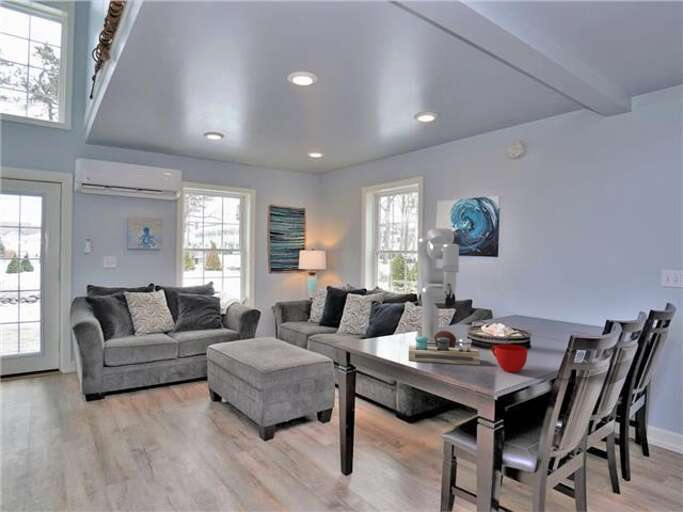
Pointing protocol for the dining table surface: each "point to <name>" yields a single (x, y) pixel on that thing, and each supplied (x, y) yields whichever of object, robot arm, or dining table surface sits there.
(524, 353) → the ceramic cup
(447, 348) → the dark gray knob
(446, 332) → the muffin
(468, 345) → the steel knob
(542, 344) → the dining table surface
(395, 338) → the dining table surface
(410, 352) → the box
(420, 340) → the teal knob
